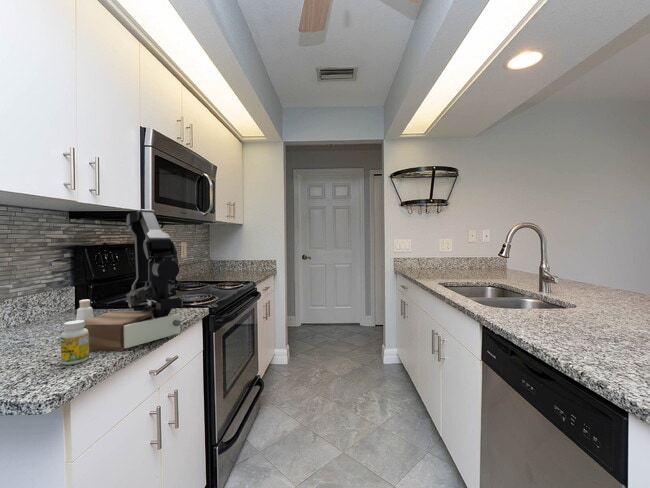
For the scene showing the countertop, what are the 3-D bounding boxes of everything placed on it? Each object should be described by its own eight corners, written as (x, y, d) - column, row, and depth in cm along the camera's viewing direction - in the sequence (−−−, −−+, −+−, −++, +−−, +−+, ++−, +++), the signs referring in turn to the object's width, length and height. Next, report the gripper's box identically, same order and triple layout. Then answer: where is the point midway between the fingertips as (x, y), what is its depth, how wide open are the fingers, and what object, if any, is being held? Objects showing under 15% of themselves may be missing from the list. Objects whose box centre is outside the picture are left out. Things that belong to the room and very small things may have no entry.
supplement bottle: (94, 357, 78) (93, 319, 78) (74, 365, 73) (73, 325, 73) (76, 356, 79) (75, 318, 79) (54, 364, 74) (54, 324, 74)
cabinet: (111, 332, 99) (111, 311, 99) (155, 332, 99) (155, 310, 99) (70, 350, 83) (70, 324, 83) (122, 350, 83) (122, 324, 83)
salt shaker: (82, 338, 94) (82, 302, 94) (69, 336, 95) (69, 301, 95) (100, 333, 99) (99, 298, 99) (87, 331, 101) (87, 298, 100)
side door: (178, 332, 97) (178, 313, 97) (182, 333, 96) (182, 314, 96) (123, 347, 83) (123, 325, 83) (127, 349, 82) (127, 326, 82)
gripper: (118, 277, 95) (119, 328, 95) (141, 282, 83) (142, 340, 83) (157, 274, 103) (157, 321, 104) (183, 278, 91) (183, 331, 91)
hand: (159, 328), depth 95 cm, fingers closed
